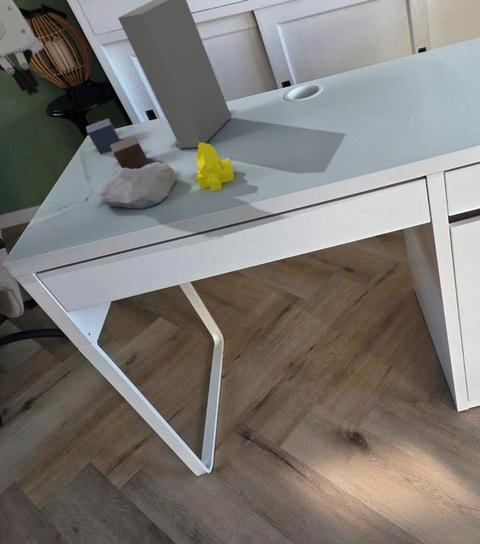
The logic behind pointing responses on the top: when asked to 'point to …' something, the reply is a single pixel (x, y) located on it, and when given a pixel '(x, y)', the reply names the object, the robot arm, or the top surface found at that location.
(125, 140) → the walnut block
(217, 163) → the crumpled paper
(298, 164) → the top surface
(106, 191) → the grey rock
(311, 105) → the top surface
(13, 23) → the robot arm
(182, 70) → the tall grey pillar
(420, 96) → the top surface
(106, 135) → the slate block
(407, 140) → the top surface
